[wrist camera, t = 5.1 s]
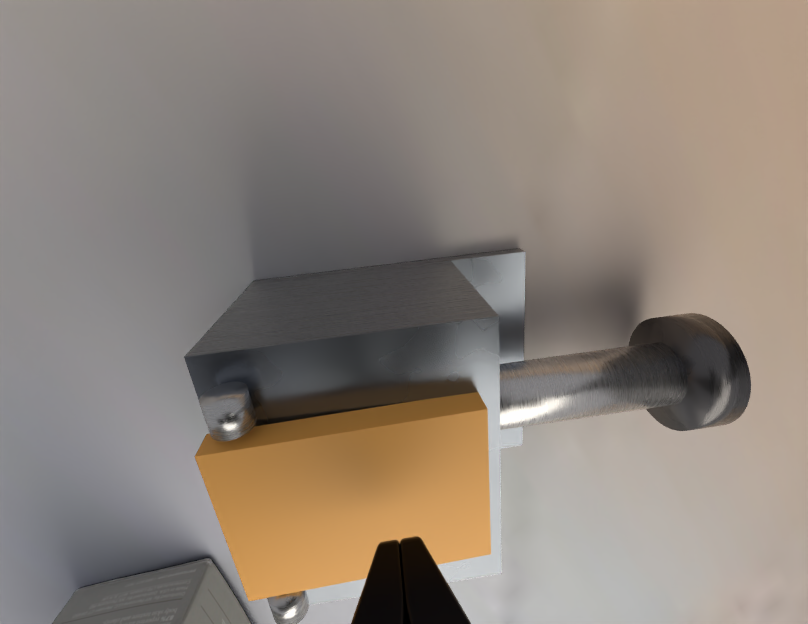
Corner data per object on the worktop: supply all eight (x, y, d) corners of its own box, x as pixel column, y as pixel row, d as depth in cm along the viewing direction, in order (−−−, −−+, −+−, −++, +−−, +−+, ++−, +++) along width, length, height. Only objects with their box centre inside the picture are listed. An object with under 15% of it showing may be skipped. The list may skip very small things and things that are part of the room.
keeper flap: (477, 391, 9) (487, 409, 8) (482, 530, 11) (491, 553, 10) (206, 433, 8) (194, 457, 8) (255, 572, 10) (248, 601, 9)
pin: (666, 298, 14) (764, 342, 10) (653, 385, 15) (735, 450, 12) (341, 340, 13) (334, 402, 10) (357, 428, 14) (355, 508, 11)
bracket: (519, 248, 13) (641, 316, 8) (517, 437, 16) (604, 591, 10) (253, 280, 13) (162, 380, 7) (301, 469, 16) (264, 648, 10)
